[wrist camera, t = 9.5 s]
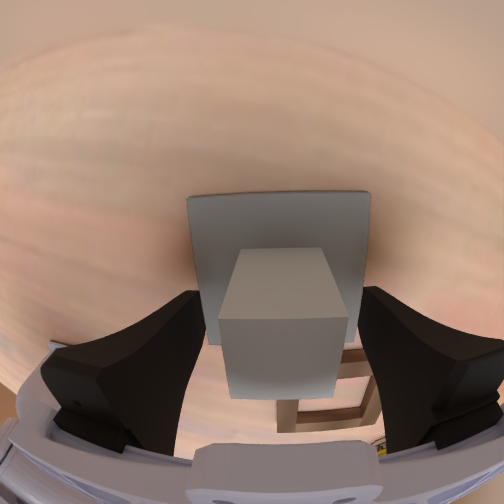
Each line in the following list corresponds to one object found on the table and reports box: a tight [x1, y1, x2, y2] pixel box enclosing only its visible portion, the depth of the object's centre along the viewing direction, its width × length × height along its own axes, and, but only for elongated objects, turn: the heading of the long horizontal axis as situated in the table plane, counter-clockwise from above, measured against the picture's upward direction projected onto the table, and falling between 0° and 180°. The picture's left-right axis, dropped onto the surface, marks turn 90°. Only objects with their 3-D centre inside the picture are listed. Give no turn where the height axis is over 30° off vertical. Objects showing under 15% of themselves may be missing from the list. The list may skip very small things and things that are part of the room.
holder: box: [277, 349, 382, 433], centre depth 17 cm, size 8×8×1 cm
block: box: [218, 247, 349, 400], centre depth 11 cm, size 4×4×6 cm
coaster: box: [186, 191, 371, 345], centre depth 14 cm, size 9×9×1 cm
